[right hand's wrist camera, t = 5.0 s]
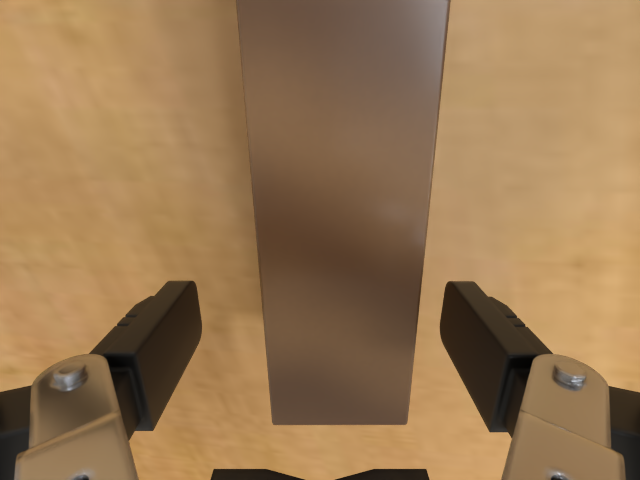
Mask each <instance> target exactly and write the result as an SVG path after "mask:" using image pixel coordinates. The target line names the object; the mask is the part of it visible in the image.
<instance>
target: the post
mask: <svg viewBox="0 0 640 480" xmlns="http://www.w3.org/2000/svg"><path fill="white" fill-rule="evenodd" d="M450 1H451V0H236V6H237V18H238V29H239V41H240V53H241V64H242V76H243V88H244V99H245V111H246V122H247V134H248V146H249V157H250V169H251V181H252V192H253V204H254V216H255V227H256V239H257V251H258V262H259V274H260V286H261V297H262V309H263V321H264V332H265V344H266V356H267V367H268V379H269V391H270V402H271V414H272V423H273V425H406V424H407V421H408V411H409V401H410V392H411V382H412V372H413V362H414V353H415V343H416V333H417V323H418V314H419V304H420V294H421V284H422V275H423V265H424V255H425V245H426V236H427V226H428V216H429V206H430V196H431V187H432V177H433V167H434V157H435V148H436V138H437V128H438V118H439V109H440V99H441V89H442V79H443V70H444V60H445V50H446V40H447V31H448V21H449V11H450Z"/></svg>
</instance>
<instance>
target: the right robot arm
mask: <svg viewBox="0 0 640 480" xmlns="http://www.w3.org/2000/svg"><path fill="white" fill-rule="evenodd" d="M201 333H202V321H201V314H200V307H199V300H198V293H197V287H196V284H195V282H194V281H168V282H167V283H166V284H165V285H164V286H163V287H162V288H161V289H160V291H159V292H158V293H157V294H156V295H155V296H150V297H148V298H147V299H145V300H143V301H141V302H140V303H138V304H136V305H135V306H134V307H133V308H132V309H131V310H130V311H129V312H128V313H127V314H126V317H124V318H123V319H122V320H121V321H120V322H119V323H118V324H117V326H115V327H114V328H113V329H112V330H111V331H110V332H109V333H108V334H107V335H106V336H105V337H104V339H103V340H102V341H101V342H100V343H99V344H98V345H97V346H96V347H95V348H94V349H93V350H92V351H91V352H90V353H89V354H84V355H78V356H74V357H71V358H68V359H65V360H63V361H60V362H58V363H56V364H54V365H53V366H51V367H49V368H48V369H46V370H45V371H44V372H42V373H41V374H40V375H39V376H38V377H37V378H36V379H35V381H34V382H33V384H32V385H31V386H27V387H22V388H17V389H13V390H8V391H3V392H0V480H139V478H138V475H137V471H136V467H135V463H134V459H133V456H132V452H131V448H130V444H129V440H130V438H131V436H132V435H133V433H134V431H153V430H154V428H155V426H156V424H157V422H158V420H159V418H160V417H161V415H162V413H163V411H164V409H165V407H166V405H167V403H168V401H169V399H170V397H171V395H172V394H173V392H174V390H175V388H176V386H177V384H178V382H179V380H180V378H181V376H182V374H183V373H184V371H185V369H186V367H187V365H188V363H189V361H190V359H191V357H192V355H193V353H194V351H195V350H196V348H197V346H198V344H199V341H200V338H201ZM440 335H441V339H442V343H443V345H444V347H445V349H446V350H447V352H448V354H449V356H450V358H451V360H452V362H453V364H454V366H455V367H456V369H457V371H458V373H459V375H460V377H461V379H462V381H463V383H464V384H465V386H466V388H467V390H468V392H469V394H470V396H471V398H472V400H473V401H474V403H475V405H476V407H477V409H478V411H479V413H480V415H481V417H482V418H483V420H484V422H485V424H486V426H487V428H488V430H489V432H508V433H509V434H510V436H511V438H512V441H511V444H510V448H509V452H508V456H507V459H506V463H505V467H504V471H503V475H502V478H501V480H640V393H639V392H634V391H630V390H625V389H620V388H615V387H611V386H608V384H607V382H606V381H605V379H604V378H603V377H602V376H601V375H600V374H599V373H598V372H596V371H595V370H594V369H592V368H591V367H589V366H587V365H586V364H584V363H582V362H580V361H577V360H575V359H572V358H569V357H566V356H562V355H556V354H553V353H552V352H551V351H550V350H549V349H548V348H547V347H546V346H545V345H544V344H543V343H542V342H541V341H540V340H539V339H538V338H537V336H536V335H535V334H534V333H533V332H532V331H531V330H530V329H529V328H528V327H525V324H524V323H523V322H522V321H521V320H520V319H519V318H517V316H516V315H515V314H514V313H513V312H512V310H511V309H510V308H509V307H508V306H507V305H505V304H503V303H501V302H500V301H498V300H496V299H495V298H493V297H488V296H487V295H486V294H485V293H484V292H483V291H482V290H481V289H480V288H479V286H478V285H477V284H476V283H475V282H473V281H449V282H448V283H447V284H446V287H445V293H444V300H443V307H442V313H441V320H440ZM211 480H304V479H300V478H297V477H293V476H289V475H286V474H282V473H278V472H275V471H271V470H267V469H214V470H213V473H212V477H211ZM336 480H429V477H428V473H427V470H426V469H373V470H369V471H365V472H362V473H358V474H354V475H351V476H347V477H343V478H340V479H336Z"/></svg>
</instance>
